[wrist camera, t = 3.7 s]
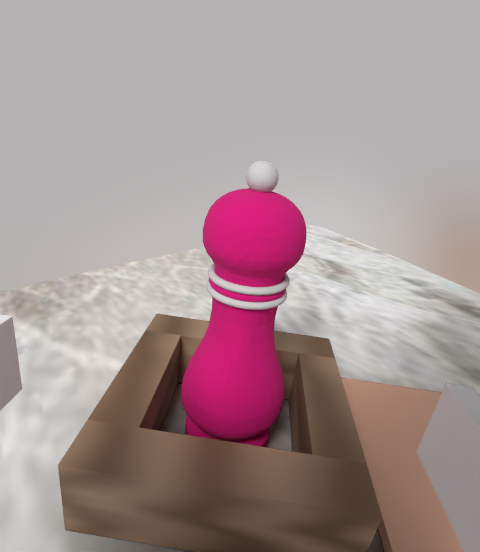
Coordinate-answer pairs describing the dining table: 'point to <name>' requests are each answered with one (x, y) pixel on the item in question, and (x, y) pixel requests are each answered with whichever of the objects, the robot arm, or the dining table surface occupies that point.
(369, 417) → the terracotta tile
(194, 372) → the pepper mill
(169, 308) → the dining table surface
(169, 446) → the walnut holder
